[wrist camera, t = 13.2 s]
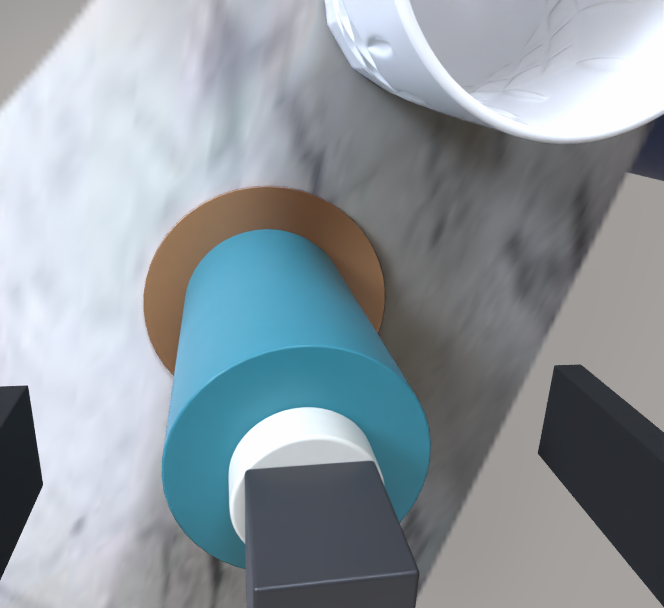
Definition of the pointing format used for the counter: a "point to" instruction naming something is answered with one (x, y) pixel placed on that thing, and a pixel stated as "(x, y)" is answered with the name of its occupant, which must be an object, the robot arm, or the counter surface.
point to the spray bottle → (292, 431)
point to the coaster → (247, 215)
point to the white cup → (514, 61)
